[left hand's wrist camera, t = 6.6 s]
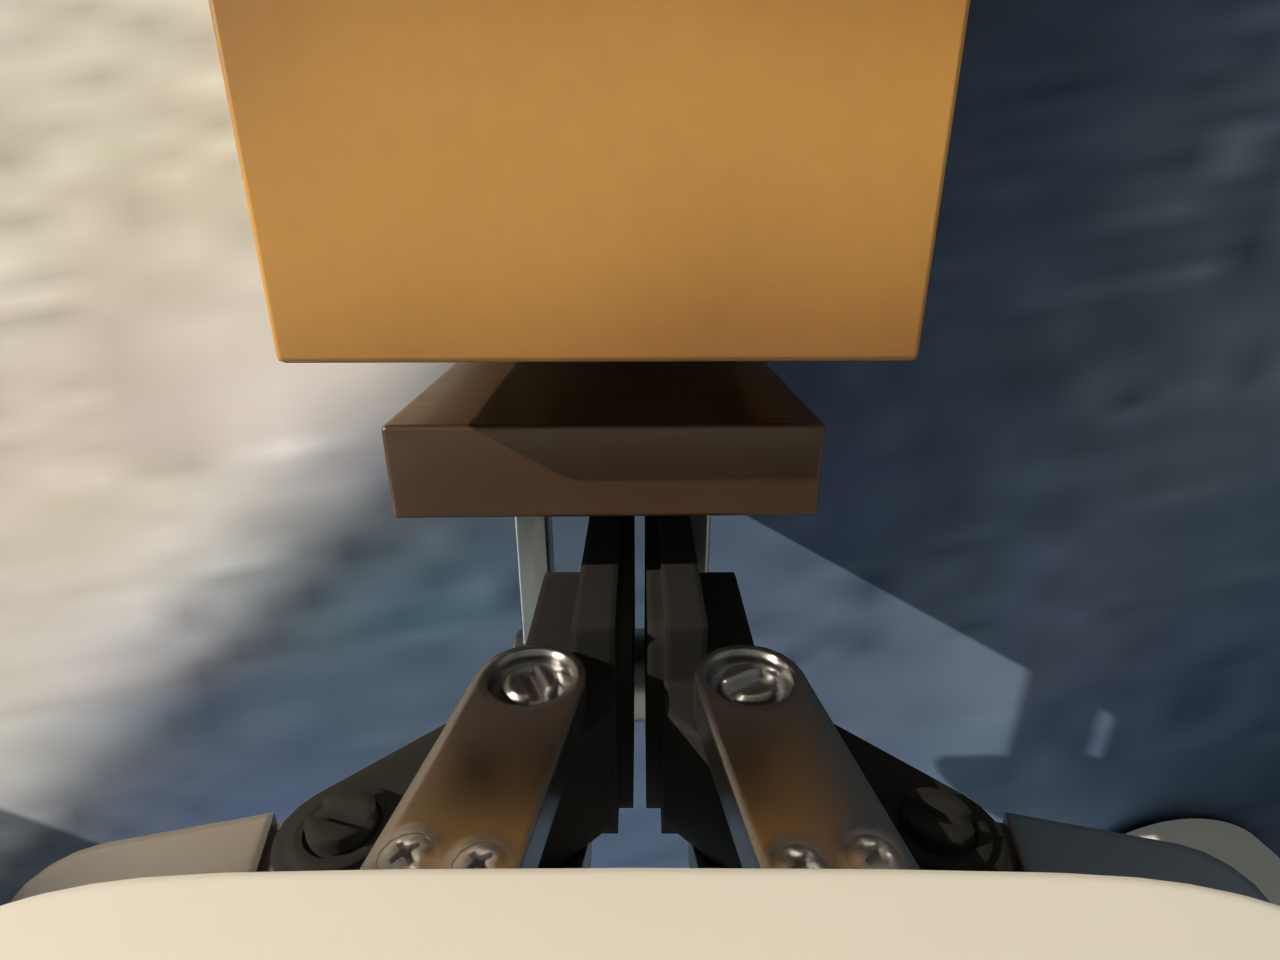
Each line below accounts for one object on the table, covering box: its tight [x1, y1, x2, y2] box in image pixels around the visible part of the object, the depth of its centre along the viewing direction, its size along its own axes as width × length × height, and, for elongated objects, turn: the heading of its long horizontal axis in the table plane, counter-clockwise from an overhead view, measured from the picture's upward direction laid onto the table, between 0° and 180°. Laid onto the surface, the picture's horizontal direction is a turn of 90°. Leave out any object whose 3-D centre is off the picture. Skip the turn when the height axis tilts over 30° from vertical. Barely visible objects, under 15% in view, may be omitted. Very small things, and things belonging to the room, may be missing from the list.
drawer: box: [382, 361, 826, 722], centre depth 9 cm, size 23×5×7 cm, turn 0°
